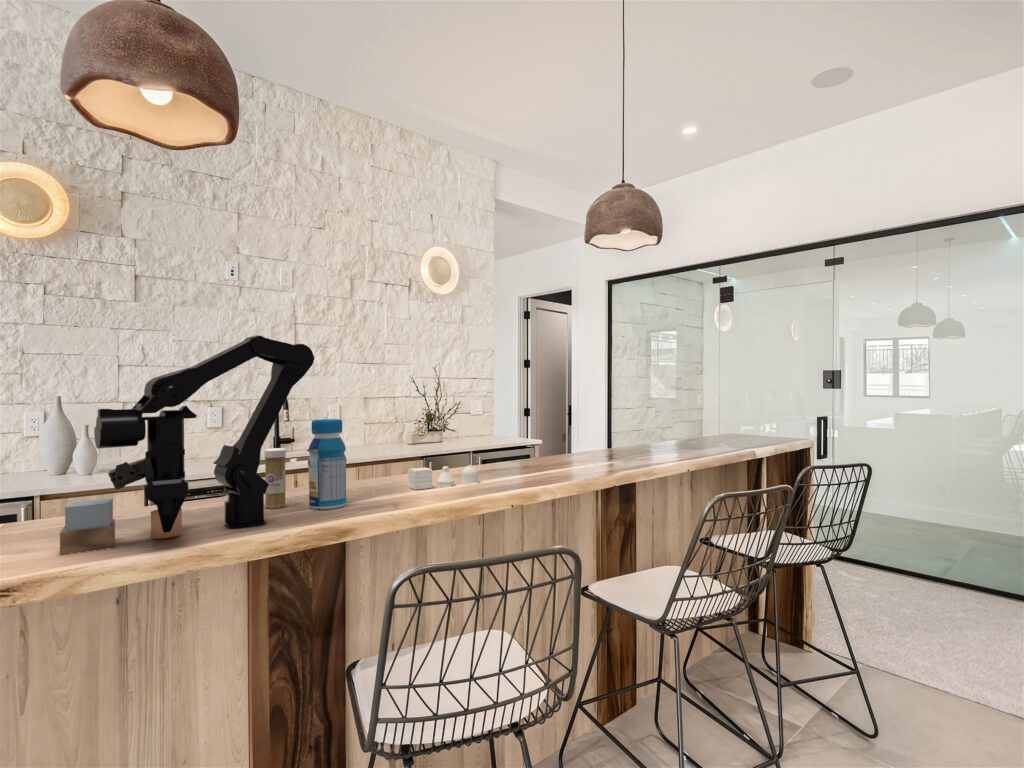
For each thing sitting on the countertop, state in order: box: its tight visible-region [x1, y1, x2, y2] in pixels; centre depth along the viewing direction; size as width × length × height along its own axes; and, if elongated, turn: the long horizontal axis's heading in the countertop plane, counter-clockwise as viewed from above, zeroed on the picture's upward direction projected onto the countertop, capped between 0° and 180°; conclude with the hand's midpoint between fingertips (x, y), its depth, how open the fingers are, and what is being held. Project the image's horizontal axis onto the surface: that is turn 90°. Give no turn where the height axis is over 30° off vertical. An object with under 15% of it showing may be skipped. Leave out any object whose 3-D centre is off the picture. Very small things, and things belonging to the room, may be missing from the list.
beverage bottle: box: [307, 418, 348, 511], centre depth 125 cm, size 8×8×20 cm
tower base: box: [59, 518, 116, 556], centre depth 95 cm, size 7×7×4 cm
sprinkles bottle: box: [264, 447, 287, 509], centre depth 126 cm, size 5×5×13 cm
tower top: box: [64, 497, 114, 531], centre depth 95 cm, size 6×6×4 cm
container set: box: [407, 464, 480, 491], centre depth 151 cm, size 20×5×6 cm, turn 120°
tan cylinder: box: [150, 507, 183, 539], centre depth 100 cm, size 5×5×4 cm
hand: (166, 529), depth 100 cm, fingers closed on tan cylinder, 5 cm apart
